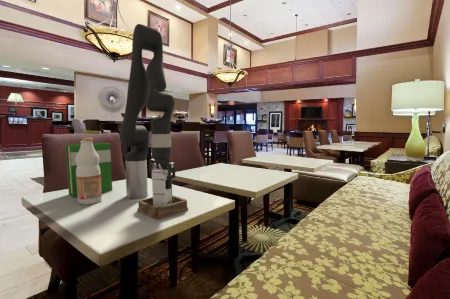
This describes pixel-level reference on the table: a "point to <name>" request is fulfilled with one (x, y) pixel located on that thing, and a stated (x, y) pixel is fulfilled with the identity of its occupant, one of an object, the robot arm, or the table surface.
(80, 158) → the fruit juice
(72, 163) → the hardback book
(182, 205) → the socket stand
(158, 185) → the syrup box
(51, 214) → the table surface
